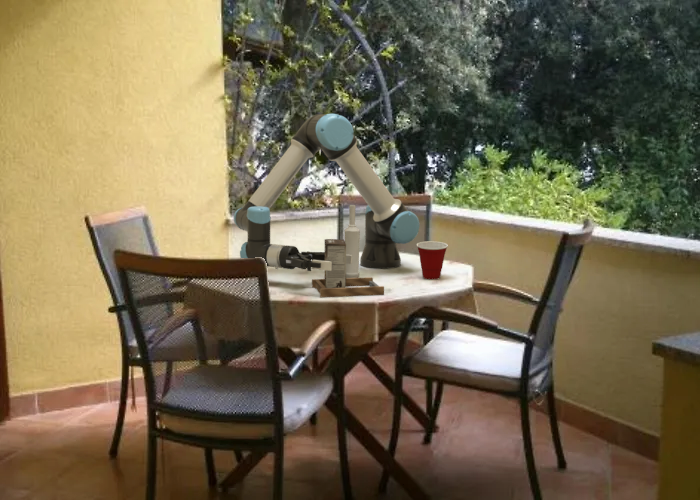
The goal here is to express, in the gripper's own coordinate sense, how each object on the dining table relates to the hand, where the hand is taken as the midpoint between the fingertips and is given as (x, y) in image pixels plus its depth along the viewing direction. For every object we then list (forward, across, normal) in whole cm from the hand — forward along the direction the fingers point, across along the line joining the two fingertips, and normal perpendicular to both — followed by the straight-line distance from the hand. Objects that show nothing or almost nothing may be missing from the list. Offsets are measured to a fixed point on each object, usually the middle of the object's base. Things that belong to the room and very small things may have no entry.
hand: (341, 262), depth 249 cm
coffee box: (-2, 0, -10) cm, 10 cm away
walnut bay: (+1, -3, -9) cm, 10 cm away
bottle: (-8, -22, -10) cm, 25 cm away
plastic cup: (+16, -36, -10) cm, 40 cm away
